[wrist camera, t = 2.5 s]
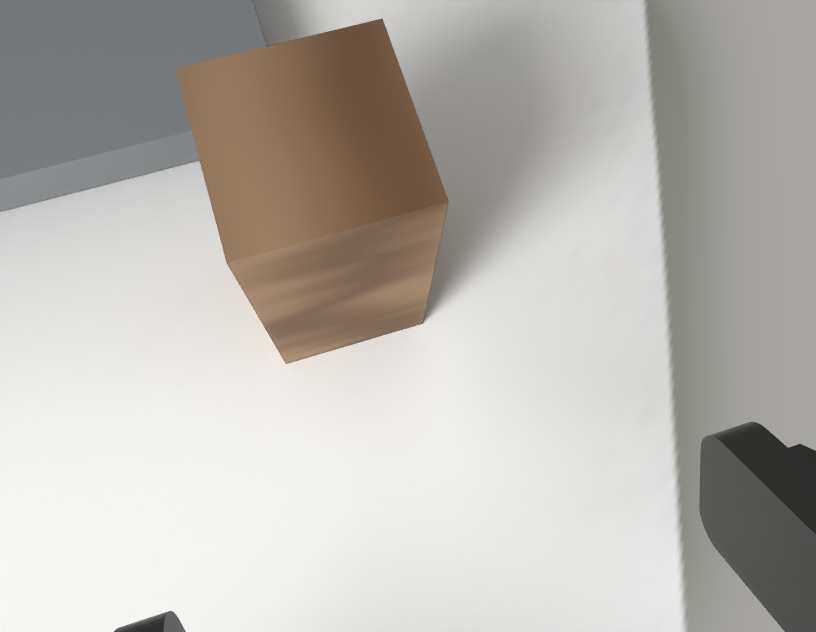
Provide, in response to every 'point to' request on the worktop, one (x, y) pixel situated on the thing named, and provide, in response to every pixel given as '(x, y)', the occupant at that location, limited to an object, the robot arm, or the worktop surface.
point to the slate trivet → (103, 87)
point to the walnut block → (319, 186)
